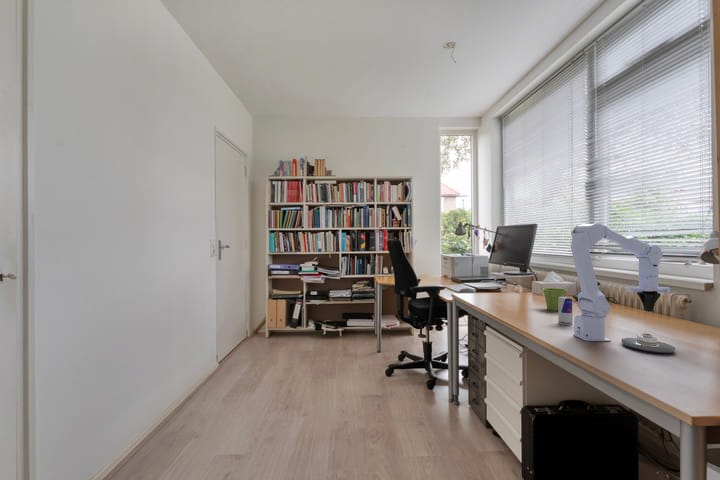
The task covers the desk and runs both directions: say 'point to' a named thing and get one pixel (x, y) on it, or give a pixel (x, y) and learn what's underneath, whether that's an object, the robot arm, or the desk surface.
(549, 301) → the plant pot
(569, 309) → the energy drink
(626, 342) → the turntable
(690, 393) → the desk surface
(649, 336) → the cover
